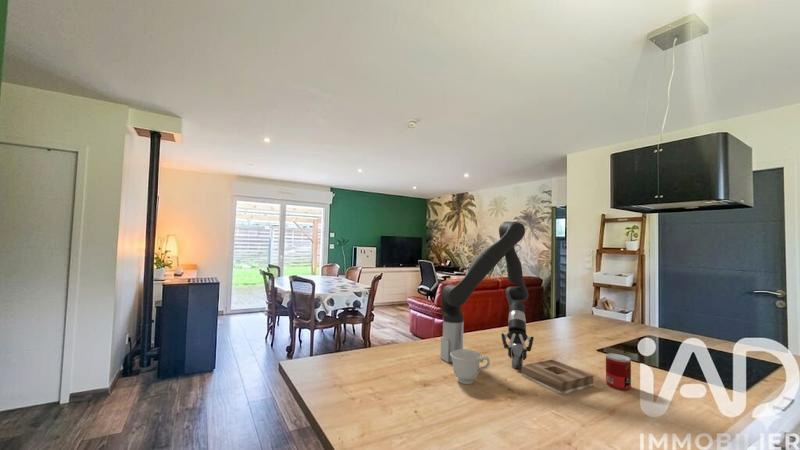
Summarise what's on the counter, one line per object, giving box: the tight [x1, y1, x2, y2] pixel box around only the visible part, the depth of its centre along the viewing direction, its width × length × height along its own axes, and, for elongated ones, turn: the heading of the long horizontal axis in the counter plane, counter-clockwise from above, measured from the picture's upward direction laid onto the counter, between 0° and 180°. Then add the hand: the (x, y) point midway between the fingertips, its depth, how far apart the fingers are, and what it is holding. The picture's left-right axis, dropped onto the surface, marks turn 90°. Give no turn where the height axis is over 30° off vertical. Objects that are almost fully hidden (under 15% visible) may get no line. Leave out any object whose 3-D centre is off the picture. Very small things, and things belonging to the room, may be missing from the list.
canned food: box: [605, 353, 632, 391], centre depth 126 cm, size 8×8×11 cm
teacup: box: [450, 348, 491, 385], centre depth 127 cm, size 12×15×10 cm
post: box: [511, 342, 524, 371], centre depth 142 cm, size 4×4×10 cm
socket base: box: [520, 359, 594, 396], centre depth 129 cm, size 18×18×4 cm
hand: (517, 358), depth 140 cm, fingers open, 4 cm apart
